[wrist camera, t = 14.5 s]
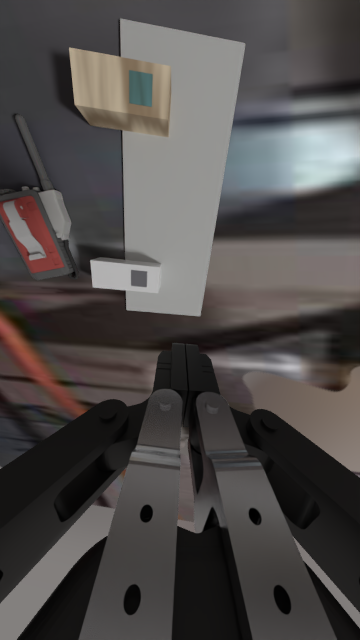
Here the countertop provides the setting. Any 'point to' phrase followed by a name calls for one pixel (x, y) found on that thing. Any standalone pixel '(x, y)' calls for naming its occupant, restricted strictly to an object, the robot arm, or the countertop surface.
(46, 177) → the walkie-talkie
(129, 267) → the grey block
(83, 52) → the beech block
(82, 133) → the countertop surface
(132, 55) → the mat
